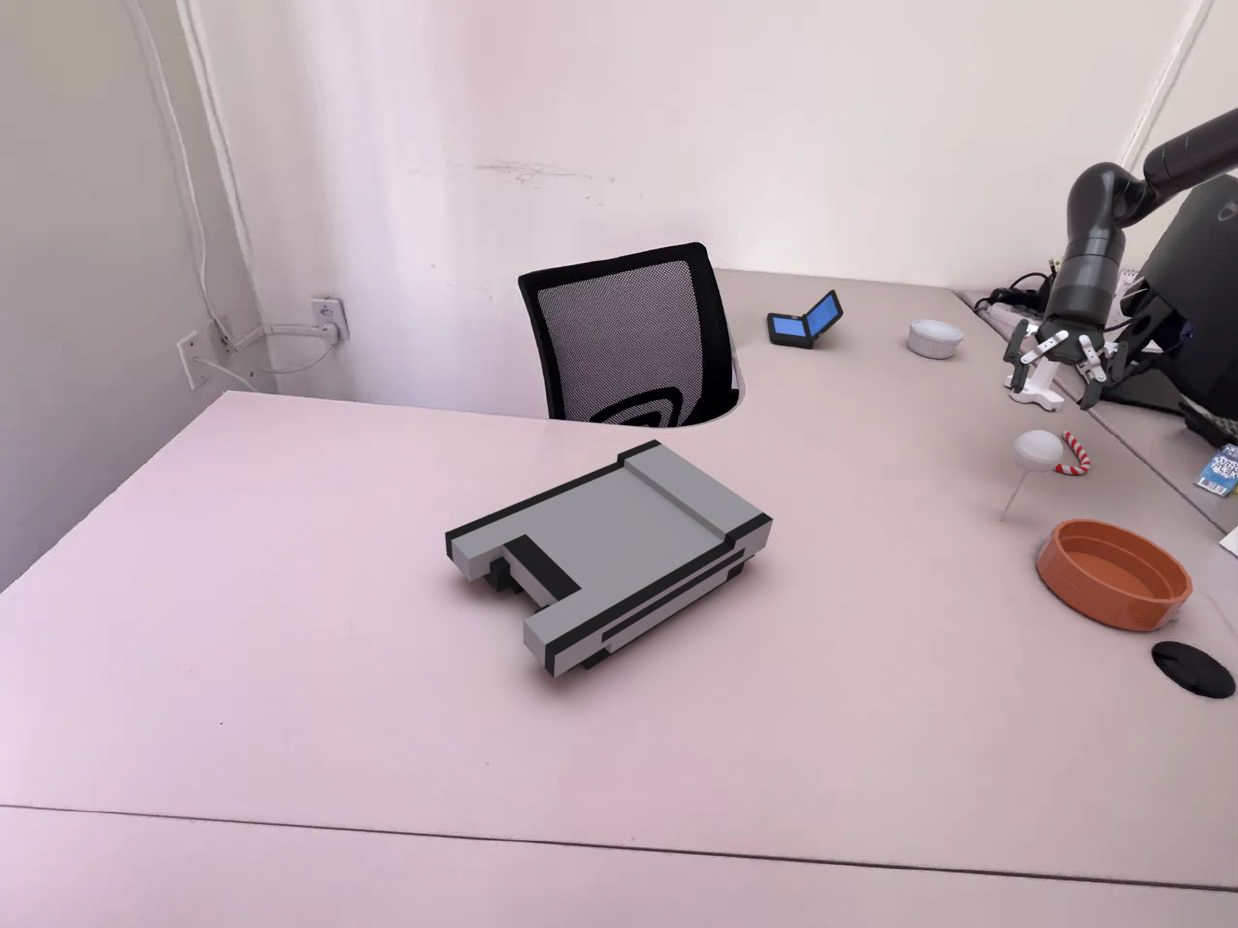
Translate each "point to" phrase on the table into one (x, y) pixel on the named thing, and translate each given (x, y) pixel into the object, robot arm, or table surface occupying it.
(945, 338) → the ramekin
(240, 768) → the table surface
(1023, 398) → the joystick
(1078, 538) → the bowl
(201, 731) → the table surface
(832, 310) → the game console
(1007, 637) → the table surface
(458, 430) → the table surface
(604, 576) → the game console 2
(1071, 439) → the candy cane
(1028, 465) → the lollipop
